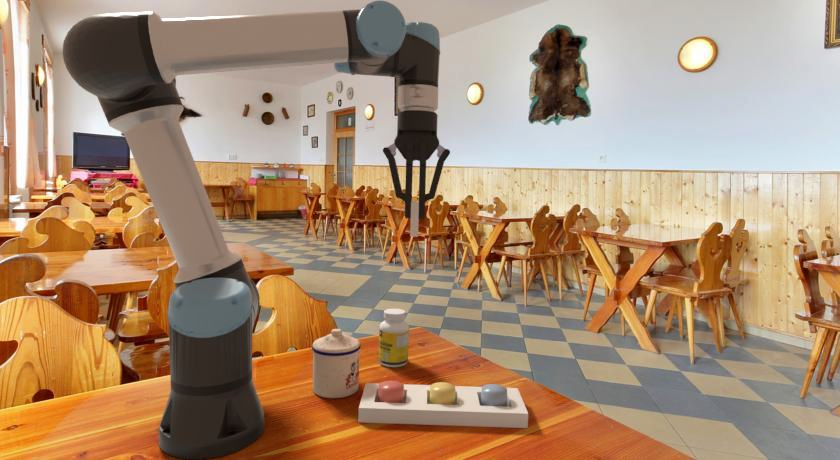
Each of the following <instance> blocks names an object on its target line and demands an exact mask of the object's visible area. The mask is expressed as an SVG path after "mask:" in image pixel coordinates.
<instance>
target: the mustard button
mask: <svg viewBox="0 0 840 460" xmlns="http://www.w3.org/2000/svg"><path fill="white" fill-rule="evenodd" d="M430 385H431V386H430V404H444V405H455V386H456V385H454V384H452V383H449V382H446V381H441V382H440V381H439V382H435V383H432V384H430Z"/></svg>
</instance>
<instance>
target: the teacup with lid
mask: <svg viewBox="0 0 840 460" xmlns="http://www.w3.org/2000/svg"><path fill="white" fill-rule="evenodd" d="M360 349H361V343H360V341H359V339H357V338H356V337H354V336H353V337H352V336H351V335H347V334H345V333H343V330H342V329H341V328H332V329H331V332H330V333H329V334H327V335H325V336H322V337H319V338H317V339H315V340H314V342H313V343H312V345H311V350H312V390H313V392H314V394H316V395H317V396H319V397H322V398H326V399H340V398H341V399H342V398H346V397H349V396H352V395H353V394H355V393H356V392H357V391H358V389H359V388H360V387H359V384H360V383H359V382H360V381H359V380H360V375H359V374H360Z"/></svg>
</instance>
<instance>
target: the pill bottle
mask: <svg viewBox="0 0 840 460" xmlns="http://www.w3.org/2000/svg"><path fill="white" fill-rule="evenodd" d="M383 318H384V320H383V321H382V322H381V323H380V324H379V331H378V333H379V336H378V363H379V364H380V365H381V366H384V367H387V368H400V367H404V366H405V365H407V364H408V361H409V343H410V341H409V340H410V339H409V338H410V326H409V324H408V322H407V321H406V320H405V319H406V310H405V309H401V308H387V309H384V311H383Z"/></svg>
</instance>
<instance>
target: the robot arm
mask: <svg viewBox="0 0 840 460" xmlns="http://www.w3.org/2000/svg"><path fill="white" fill-rule="evenodd" d="M440 38H441V37H440V32H439V29H438V27H436V26H435V25H433V24H431V23H429V22H425V21H424V22H423V21H417V22H413V21H409V22H406V20H405V17H404V15H403V13H402V12H401V10H400V9H399V8H398V7H397V6H396V5H394V4H393V3H391V2H389V1H387V0H373V1H371V2H369V3H367V4H366V5H365V6H363V7H362V8H361V9H347V10H346V9H345V10H344V9H343V10H332V11H331V10H330V11H313V12H312V11H309V12H291V13H290V12H288V13H287V12H286V13H266V14H265V13H264V14H248V15H247V14H245V15H223V16H222V15H221V16H202V17H185V18H184V17H183V18H182V17H181V18H180V17H179V18H163V17H161V16H160V15H159V14H158V13H156V12H155V11H141V12H140V11H139V12H138V11H137V12H114V13H113V12H112V13H102V14H94V15H91V16H88V17H85V18H83V19H81V20H79V21H78V22H77V23H76V22H75V24H74V25H72V27H71V28H70V29H69V31H68V32H67V33H66V36H65V37H64V40H63V43H62V52H61V53H62V58H63V63H64V65H65V68H66V70H67V72H68V73H69V75H70V77H71V78H72V80H74V82H75V83H76V84H77V85H78V86H79V87H80V88H82V89H84V91H85V92H88V93H90V94H92V95H94V96H95V97H97V100H98V101H99V104H100V106H101V109H102V112H103V114H104V117H105V119H106V121H107V123H108V125H109V127H110V128H112V129H114V130H116V131H118V132H120V133H122V134H123V135H124V138H125V140H126V142H127V145H128V147H129V150H130V153H131V154H132V155H131V156H132V157H133V160H134V162H135V165H136V167H137V169H138V171H139V173H140V176H141V178H142V182H143V184H144V186H145V189H146V192H147V193H148V196H149V198H150V200H151V204H152V205H153V208H154V210H155V213H156V215H157V218H158V220H159V223H160V226H161V228H162V231H163V233H164V235H165V237H166V240H167V242H168V245H169V247H170V249H171V252H172V255H173V257H174V260H175V262H176V264H177V267H178V271H177V273H176V274H175V277H174V278H173V283H174V284H175V287H176V288H175V289H174V290H173V291H172V292H171V294H170V297H169V300H168V308H167V315H166V316H167V321H168V333H169V334H168V337H169V338H168V339H169V340H168V341H169V364H170V365H169V367H170V369H169V371H170V372H169V373H170V392H169V396H168V398H167V401H166V405H165V408H164V411H163V413H162V417H161V420H160V423H159V426H158V446H159V448H160V450H162V451H163V452H164V453H165V454H166V455H169V456H171V457H174V458H178V459H184V460H202V459H203V460H204V459H212V458H217V457H222V456H226V455H229V454H232V453H234V452H237V451H240V450H243V449H245V448H246V447H248V446H250V445H251V444H254V442H255V441H256V440H258V438H260V436H261V435H262V434H263V432H264V430H265V412H264V409H263V406H262V403H261V401H260V398H259V395H258V393H257V392H258V391H257V389H256V387H255V385H254V381H253V329H254V326H255V322H256V319H257V316H258V314H259V310H260V304H261V302H260V298H261V297H260V294H259V290H258V289H259V288H258V287H257V285H256V283H254V280H252V278H250V276H249V274H248V271H247V269H246V266H245V265H244V262H243V261H244V260H243V259H242V257H241V255H239V254H237V253H234V252H232V251H231V250H230V249H229V247H228V245H227V243H226V240H225V239H226V238H225V237H224V233H223V232H222V230H221V227H220V225H219V222H218V219H217V217H216V213H215V212H214V209H213V207H212V203H211V201H210V198H209V195H208V194H207V191H206V188H205V185H204V182H203V181H202V180H203V179H202V178H201V175H200V173H199V171H198V168H197V165H196V163H195V160H194V156H193V155H192V152H191V150H190V146H189V144H188V141H187V139H186V137H185V134H184V132H183V131H184V130H183V129H182V127H181V124H180V117H181V116H182V113H183V112H184V105H183V102H182V100H181V98H180V97H181V96H180V95H179V92H178V89H177V78H176V77H177V76H183V75H184V76H187V75H197V74H198V75H199V74H209V73H224V72H234V71H235V72H238V71H248V70H250V71H251V70H260V69H261V70H263V69H274V68H286V67H287V68H288V67H301V66H312V65H325V64H326V65H327V64H333V68H334V70H335V71H336V72H338V73H341V74H348V75H349V74H350V75H352V76H355V75H359V76H361V75H362V76H373V77H375V76H377V77H389V78H398V84H397V85H398V89H397V91H398V93H397V108H398V109H399V110H400V111H399V112H398V113H397V123H396V124H397V125H396V126H397V129H396V130H397V131H396V132H397V133H396V136H395V138H394V140H393V141H394V142H393V143H392V144H390V145H389V146H385V147H384V148H383V149H382V152H383V154H384V155H385V158H386V159H387V160H388V166H389V169H390V174H391V179H392V183H393V189H394V194H395V197H396V198H397V199H400V200H402V201H403V202H404V217H405V219H408V220H409V219H410V229H409V234H410V235H409V236H410V237H411V238H412V237H413V238H415V237H416V238H417V237H419V222H420V220H424V219H425V217H426V216H425V213H426V203H427V202H428V201H430V200H434V198H435V197H436V194H437V189H438V186H439V182H440V179H441V175H442V171H443V167H444V163H445V161H446V160H447V158H448V157H449V156H450V154H451V151H450V149H449V148H445V147H444V146H442V145H441V143H440V139H439V138H438V114H437V113H436V112H435V111H437V110H438V108H439V74H440V55H441V50H440V49H441V48H440V47H441V42H440V41H441V40H440ZM396 150H398V151H399V153H400V155H402V157H403V159H405V184H404V185H405V187H404V189H405V191H403V189H402V185H401V181H400V177H399V176H400V174H399V171H398V165H397V161H396V158H395V157H396V154H397V151H396ZM435 151H437V153H436V156H437V158H438V159H437V163H436V165H435V169H434V172H433V176H432V181H431V184H430V186H429V192H428V193H426V183H427V182H426V181H427V180H426V179H427V161H428V160H429V159H430V158H431V157H432V156H433V154H434V153H435ZM415 161H418V162H419V177H418V178H419V180H418V181H419V182H418V201H413V199H412V198H413V174H414V173H413V168H414V162H415Z"/></svg>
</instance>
